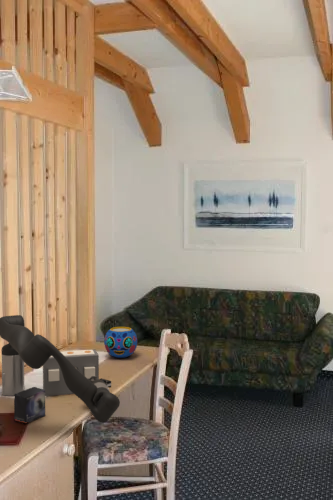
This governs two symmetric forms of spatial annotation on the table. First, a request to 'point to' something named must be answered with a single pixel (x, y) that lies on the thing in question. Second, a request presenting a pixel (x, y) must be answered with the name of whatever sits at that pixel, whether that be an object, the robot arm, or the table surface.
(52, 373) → the left button
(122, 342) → the ceramic pot
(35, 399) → the small box
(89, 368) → the right button
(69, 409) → the table surface
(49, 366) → the control panel
